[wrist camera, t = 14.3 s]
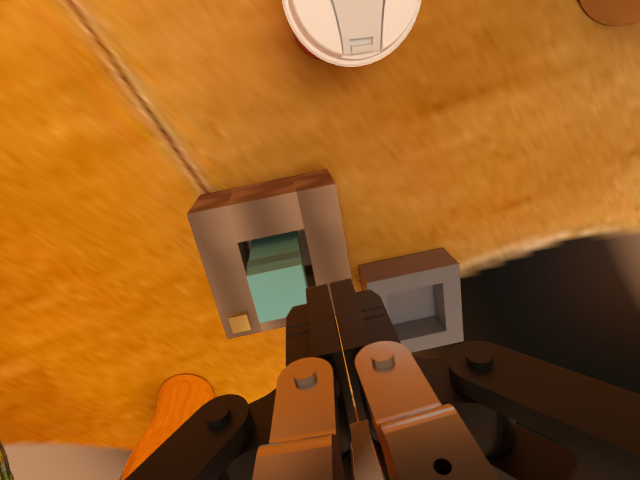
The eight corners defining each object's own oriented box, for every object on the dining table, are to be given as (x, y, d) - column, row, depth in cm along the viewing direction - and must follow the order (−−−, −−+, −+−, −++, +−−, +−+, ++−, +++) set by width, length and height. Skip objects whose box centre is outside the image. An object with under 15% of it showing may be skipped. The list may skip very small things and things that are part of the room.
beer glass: (201, 361, 43) (166, 490, 29) (228, 406, 46) (208, 545, 32) (142, 383, 44) (80, 522, 30) (173, 427, 46) (129, 574, 32)
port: (326, 169, 37) (336, 185, 31) (346, 281, 42) (358, 314, 36) (200, 195, 37) (185, 216, 31) (233, 305, 41) (226, 343, 35)
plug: (295, 220, 38) (301, 263, 28) (303, 259, 39) (312, 312, 30) (252, 229, 38) (245, 275, 28) (263, 267, 39) (258, 323, 30)
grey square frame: (442, 247, 41) (459, 263, 38) (447, 320, 45) (463, 341, 41) (358, 265, 41) (366, 283, 37) (370, 336, 45) (378, 359, 41)
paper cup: (374, 67, 35) (433, 55, 22) (286, 79, 34) (292, 74, 21) (367, -39, 32) (430, -126, 19) (271, -28, 31) (268, -109, 18)
